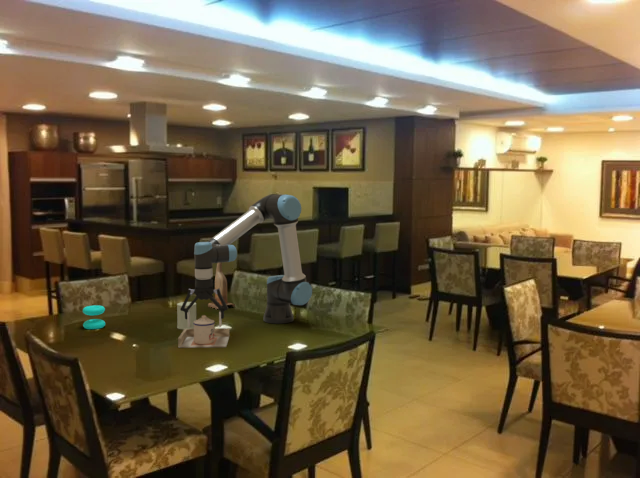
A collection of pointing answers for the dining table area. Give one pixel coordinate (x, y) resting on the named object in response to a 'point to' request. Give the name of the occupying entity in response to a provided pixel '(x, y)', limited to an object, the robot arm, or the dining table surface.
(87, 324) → the donuts
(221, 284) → the bird sculpture
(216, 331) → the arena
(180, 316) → the can
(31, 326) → the dining table surface
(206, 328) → the teacup with lid
